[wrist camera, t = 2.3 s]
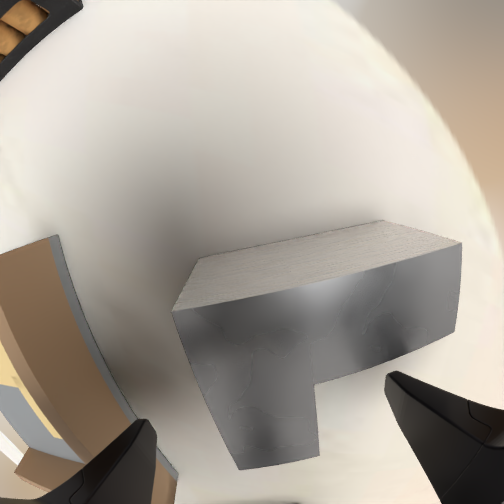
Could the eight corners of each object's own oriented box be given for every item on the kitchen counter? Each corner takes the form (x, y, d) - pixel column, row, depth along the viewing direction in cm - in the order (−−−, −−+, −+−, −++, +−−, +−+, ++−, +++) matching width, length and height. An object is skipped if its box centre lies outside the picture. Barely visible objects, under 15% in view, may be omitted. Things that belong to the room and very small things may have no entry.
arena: (178, 474, 14) (171, 524, 10) (39, 450, 14) (22, 480, 10) (57, 234, 10) (-14, 260, 6) (-54, 282, 10) (-90, 301, 5)
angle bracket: (386, 352, 12) (434, 410, 8) (237, 389, 12) (239, 470, 8) (383, 220, 11) (461, 242, 6) (199, 258, 11) (171, 311, 6)
